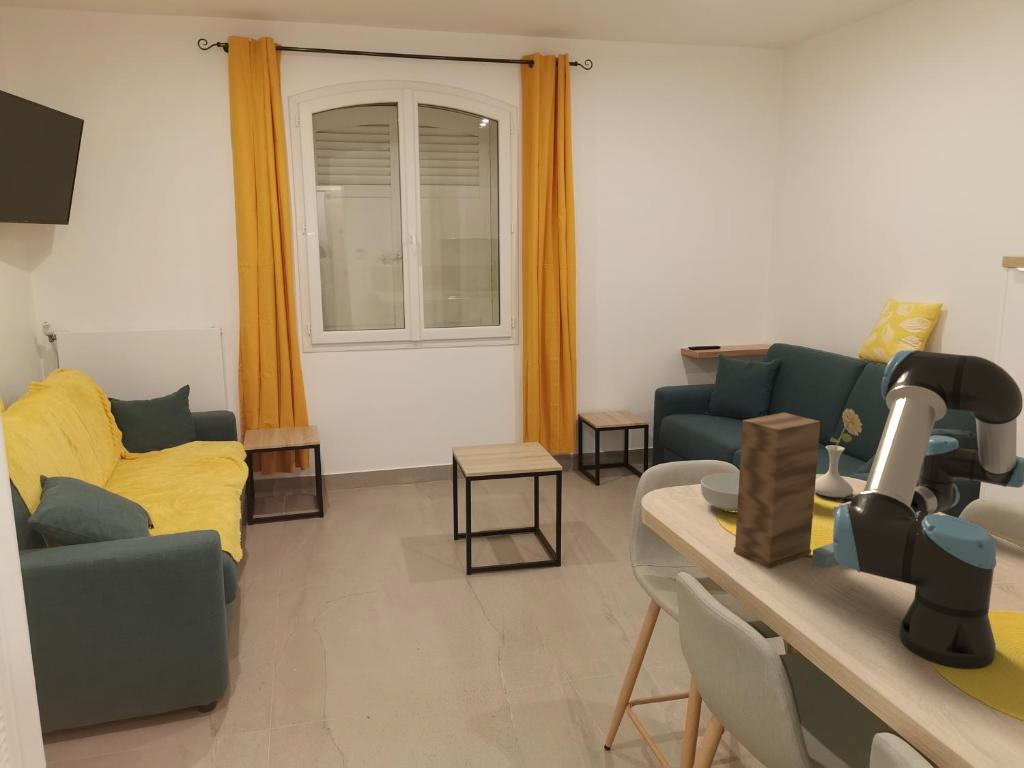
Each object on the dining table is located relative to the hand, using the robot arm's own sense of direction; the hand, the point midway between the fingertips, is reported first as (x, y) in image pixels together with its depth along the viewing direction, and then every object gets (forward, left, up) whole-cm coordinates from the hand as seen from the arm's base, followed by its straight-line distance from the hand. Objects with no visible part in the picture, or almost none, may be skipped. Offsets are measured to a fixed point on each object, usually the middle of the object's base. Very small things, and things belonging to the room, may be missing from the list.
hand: (860, 521), depth 179 cm
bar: (0, +2, -8) cm, 8 cm away
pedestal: (+10, +18, -8) cm, 22 cm away
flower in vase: (+28, -30, -8) cm, 42 cm away
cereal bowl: (+36, +3, -8) cm, 37 cm away
